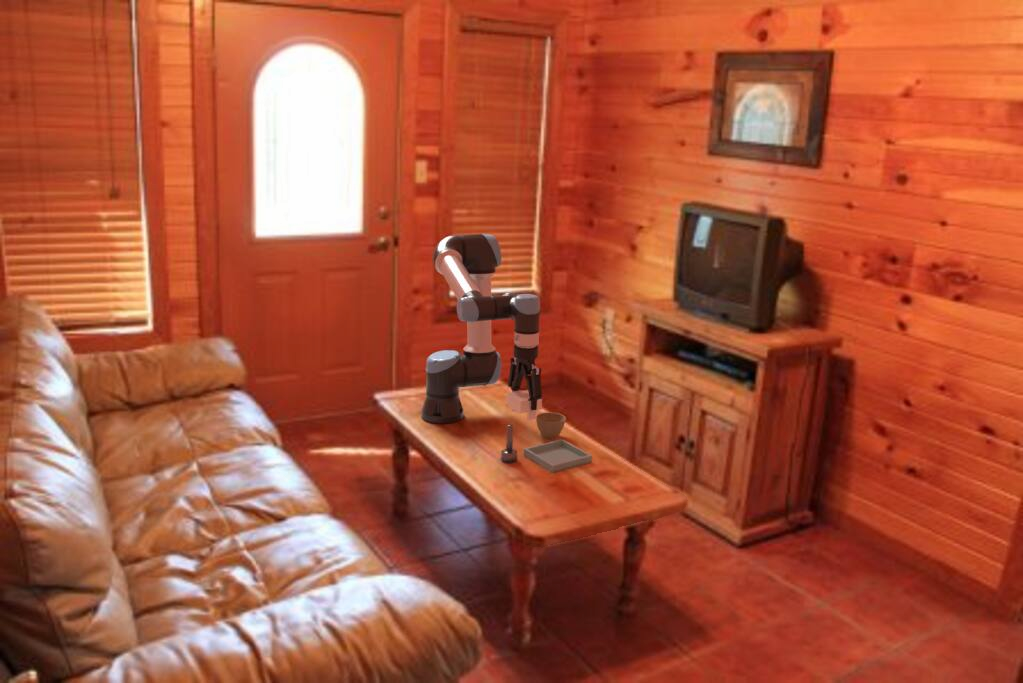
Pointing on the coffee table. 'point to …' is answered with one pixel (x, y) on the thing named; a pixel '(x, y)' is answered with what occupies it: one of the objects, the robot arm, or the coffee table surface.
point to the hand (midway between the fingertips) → (523, 414)
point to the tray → (557, 455)
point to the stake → (509, 447)
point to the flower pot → (550, 424)
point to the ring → (520, 401)
